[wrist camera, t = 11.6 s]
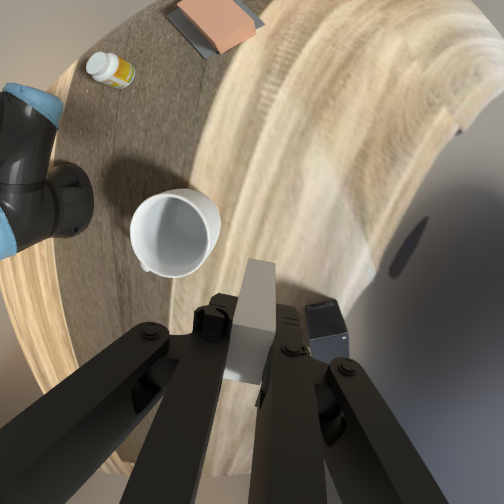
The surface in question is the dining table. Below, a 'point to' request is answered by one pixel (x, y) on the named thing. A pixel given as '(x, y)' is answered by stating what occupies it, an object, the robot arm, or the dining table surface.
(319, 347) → the small box
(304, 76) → the dining table surface
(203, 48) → the mat
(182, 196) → the mug
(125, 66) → the supplement bottle
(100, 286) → the dining table surface
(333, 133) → the dining table surface
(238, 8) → the terracotta block
